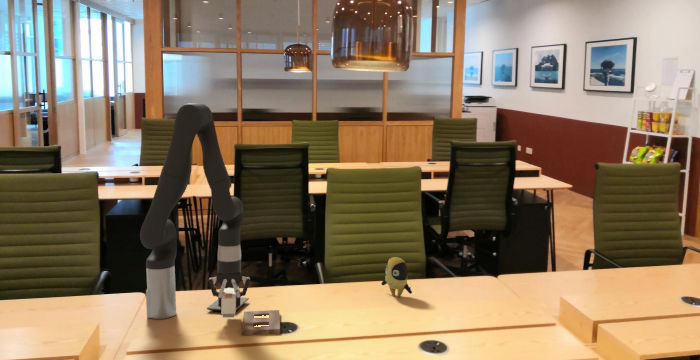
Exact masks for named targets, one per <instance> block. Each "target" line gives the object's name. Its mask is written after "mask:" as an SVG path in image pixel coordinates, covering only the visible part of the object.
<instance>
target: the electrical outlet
mask: <svg viewBox="0 0 700 360" xmlns="http://www.w3.org/2000/svg"><path fill="white" fill-rule="evenodd" d="M249 299H250V298H249V297H240V306H239V307H238V308H236V311H237V310H238V309H239V308H240V307H242V306H243V305H244V304H245V303H247V302H248V300H249ZM206 309H207V310H209V311H216V312H217V311H218V312H221V308H220V307H219V306H218V299H217V300H215V301H213V302H212V303H211V304H210V305H208V306H207V307H206Z"/></svg>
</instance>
